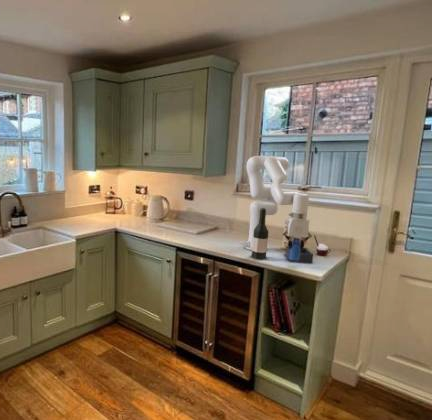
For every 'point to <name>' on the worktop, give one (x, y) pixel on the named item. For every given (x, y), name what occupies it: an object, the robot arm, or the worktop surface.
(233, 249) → the worktop surface
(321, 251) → the cocoa
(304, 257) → the dark grey tray
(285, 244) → the coffeecake box
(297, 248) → the bottle
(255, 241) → the wine bottle
